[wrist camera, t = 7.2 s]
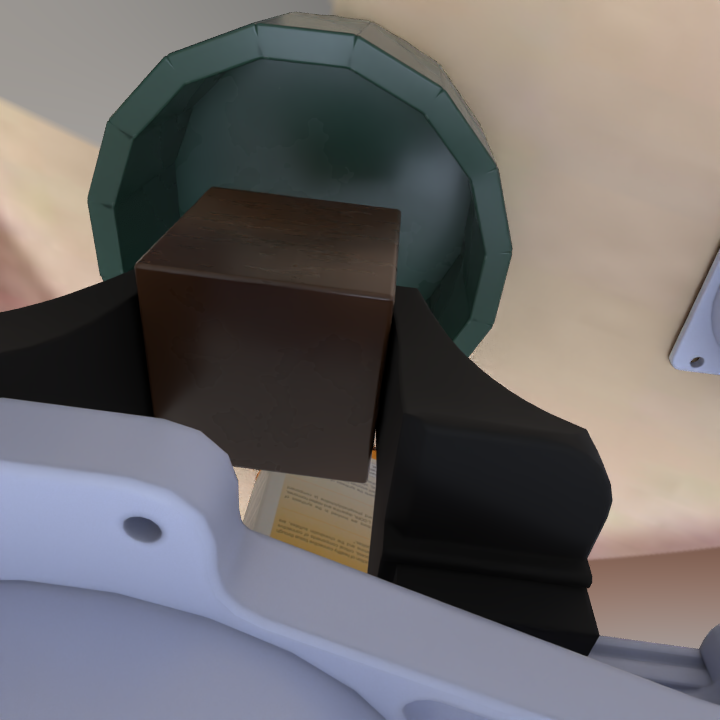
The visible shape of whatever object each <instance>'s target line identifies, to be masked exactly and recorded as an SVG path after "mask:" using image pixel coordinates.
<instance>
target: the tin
mask: <svg viewBox="0 0 720 720" xmlns="http://www.w3.org/2000/svg"><path fill="white" fill-rule="evenodd" d="M213 186H215V187H223V188H231V189H239V190H247V191H255V192H263V193H271V194H279V195H287V196H295V197H303V198H311V199H319V200H328V201H336V202H344V203H352V204H360V205H368V206H376V207H384V208H392V209H398V210H400V211H401V223H400V237H399V251H398V264H397V278H396V286H404V287H412V288H417V289H418V290H419V292H420V293H421V295H422V296H423V298H424V300H425V302H426V304H427V305H428V307H429V309H430V310H431V312H432V313H433V315H434V317H435V318H436V320H437V321H438V322H439V324H440V325H441V327H442V328H443V329H444V331H445V332H446V334H447V335H448V336H449V337H450V339H451V340H452V341H453V342H454V343H455V344H456V345H457V347H458V348H459V349H460V350H461V351H462V352H463V353H464V354H465V355H466V356H467V357H469V356H470V355H471V353H472V352H473V351H474V349H475V348H476V347H477V346H478V344H479V343H480V342H481V341H482V339H483V338H484V337H485V336H486V334H487V333H488V332H489V330H490V329H491V328H492V326H493V324H494V322H495V318H496V314H497V310H498V307H499V303H500V299H501V295H502V291H503V287H504V283H505V280H506V276H507V272H508V268H509V264H510V260H511V256H512V249H513V248H512V243H511V237H510V231H509V226H508V220H507V214H506V208H505V203H504V197H503V191H502V186H501V180H500V174H499V169H498V167H497V164H496V162H495V159H494V157H493V154H492V152H491V150H490V147H489V145H488V142H487V140H486V137H485V135H484V133H483V130H482V128H481V125H480V124H479V122H478V121H477V119H476V118H475V116H474V115H473V113H472V112H471V110H470V109H469V107H468V106H467V104H466V103H465V101H464V100H463V98H462V96H461V94H460V93H459V92H458V90H457V89H456V88H455V86H454V85H453V83H452V82H451V80H450V79H449V77H448V76H447V74H446V73H445V71H444V70H443V68H442V67H441V65H439V64H438V63H437V61H435V60H433V59H432V58H430V57H429V56H427V55H425V54H424V53H422V52H421V51H419V50H418V49H416V48H415V47H413V46H412V45H411V44H409V43H408V42H407V41H405V40H403V39H401V38H399V37H397V36H396V35H394V34H392V33H390V32H388V31H387V30H385V29H384V28H382V27H380V26H379V25H377V24H376V23H374V22H370V21H369V20H361V19H352V18H344V17H339V16H334V15H317V14H309V13H300V12H294V13H287V14H283V15H280V16H276V17H273V18H269V19H265V20H262V21H258V22H254V23H251V24H249V25H246V26H243V27H240V28H238V29H235V30H232V31H230V32H227V33H224V34H221V35H218V36H216V37H213V38H210V39H208V40H205V41H202V42H199V43H197V44H194V45H191V46H189V47H186V48H183V49H180V50H178V51H175V52H172V53H170V54H168V55H167V56H165V57H164V58H163V59H162V60H161V61H160V62H159V63H158V64H157V65H156V67H155V68H154V69H153V70H152V71H151V72H150V73H149V74H148V76H147V77H146V78H145V79H144V80H143V81H142V82H141V84H140V85H139V86H138V87H137V88H136V89H135V90H134V91H133V92H132V93H131V95H130V96H129V97H128V98H127V99H126V100H125V102H123V104H122V105H121V106H120V107H119V108H118V109H117V111H115V113H114V114H113V115H112V116H111V117H110V119H109V121H107V124H106V128H105V132H104V136H103V140H102V144H101V148H100V151H99V155H98V159H97V163H96V167H95V171H94V175H93V179H92V182H91V186H90V190H89V194H88V201H87V202H88V208H89V213H90V219H91V225H92V231H93V237H94V243H95V249H96V254H97V260H98V266H99V272H100V276H102V279H103V281H106V280H108V279H111V278H113V277H116V276H118V275H121V274H123V273H126V272H128V271H131V270H133V269H134V267H135V264H136V262H137V261H138V260H139V259H140V258H141V257H142V256H143V255H144V254H145V253H146V252H147V251H148V250H149V249H150V248H151V247H152V246H153V245H154V244H155V243H156V242H157V241H158V240H159V239H160V238H161V237H162V236H163V235H164V234H165V233H166V232H167V231H168V230H169V229H170V228H171V227H172V226H173V225H174V224H175V223H176V222H177V221H178V220H179V219H180V218H181V217H182V216H183V215H184V214H185V213H186V212H187V211H188V210H189V209H190V208H191V207H192V206H193V205H194V204H195V203H196V202H197V201H198V200H199V199H200V198H201V196H202V195H203V194H204V193H205V192H206V191H207V190H208V189H209V188H210V187H213Z"/></svg>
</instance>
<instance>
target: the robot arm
mask: <svg viewBox="0 0 720 720" xmlns="http://www.w3.org/2000/svg"><path fill="white" fill-rule="evenodd" d="M696 357H700V358H699V359H698V360H697V361H695V362H691V360H692V359H694V358H696ZM669 360H670V363H671V364H672V366H673V367H674V368H675V369H678V370H683V371H691V372H699V373H707V374H715V375H720V249H719V252H718V254H717V256H716V258H715V260H714V262H713V264H712V266H711V268H710V271H709V273H708V275H707V277H706V279H705V281H704V283H703V285H702V288H701V290H700V292H699V294H698V296H697V298H696V300H695V302H694V305H693V307H692V309H691V311H690V313H689V315H688V317H687V319H686V322H685V324H684V326H683V328H682V330H681V332H680V334H679V336H678V339H677V341H676V343H675V345H674V347H673V349H672V351H671V353H670V356H669ZM611 504H612V492H611V484H610V481H609V478H608V476H607V473H606V470H605V468H604V465H603V463H602V460H601V458H600V455H599V453H598V451H597V449H596V447H595V445H594V443H593V441H592V439H591V438H590V436H589V433H588V431H587V430H586V429H584V428H582V427H579V426H577V425H575V424H573V423H570V422H568V421H566V420H563V419H561V418H559V417H557V416H554V415H552V414H550V413H548V412H546V411H544V410H542V409H540V408H538V407H536V406H534V405H533V404H531V403H529V402H527V401H525V400H524V399H522V398H520V397H519V396H517V395H516V394H514V393H512V392H511V391H509V390H508V389H506V388H505V387H504V386H502V385H501V384H499V383H498V382H497V381H495V380H494V379H492V378H491V377H490V376H489V375H487V374H486V373H485V372H483V371H482V370H481V369H480V368H479V367H478V366H477V365H476V364H475V363H473V362H472V361H471V360H470V359H469V358H468V357H467V356H466V355H465V354H464V353H463V352H462V351H461V350H460V349H459V348H458V347H457V345H456V344H455V343H454V342H453V341H452V340H451V339H450V337H449V336H448V335H447V334H446V332H445V331H444V329H443V328H442V327H441V325H440V324H439V322H438V321H437V320H436V318H435V317H434V315H433V313H432V312H431V310H430V309H429V307H428V305H427V304H426V302H425V300H424V298H423V296H422V295H421V293H420V292H419V290H418V289H417V288H412V287H404V286H396V292H395V303H394V309H393V316H392V323H391V330H390V336H389V343H388V350H387V357H386V363H385V370H384V377H383V384H382V390H381V397H380V404H379V411H378V417H377V424H376V489H375V500H374V510H373V520H372V530H371V540H370V550H369V560H368V570H367V573H364V572H362V571H359V570H356V569H354V568H351V567H349V566H346V565H343V564H341V563H338V562H335V561H333V560H330V559H327V558H325V557H322V556H319V555H317V554H314V553H312V552H309V551H306V550H304V549H301V548H298V547H296V546H293V545H290V544H288V543H285V542H282V541H280V540H277V539H274V538H272V537H269V536H267V535H264V534H261V533H259V532H256V531H253V530H251V529H249V528H248V527H247V526H246V525H244V524H243V522H242V520H241V516H240V511H239V492H238V479H237V477H236V474H235V472H234V469H233V466H232V464H231V461H230V458H229V456H228V454H227V453H226V452H225V451H223V450H222V449H221V448H220V447H219V446H217V445H216V444H215V443H214V442H213V441H212V440H210V439H209V438H208V437H207V436H206V435H205V434H203V433H202V432H201V431H199V430H196V429H193V428H190V427H187V426H184V425H181V424H178V423H175V422H172V421H169V420H166V419H162V418H154V415H153V407H152V400H151V392H150V384H149V377H148V369H147V361H146V354H145V346H144V338H143V331H142V323H141V315H140V308H139V300H138V292H137V285H136V277H135V269H133V270H131V271H128V272H126V273H123V274H121V275H118V276H116V277H113V278H111V279H108V280H106V281H103V282H101V283H98V284H95V285H92V286H90V287H87V288H84V289H81V290H79V291H76V292H73V293H70V294H68V295H65V296H62V297H59V298H55V299H52V300H49V301H45V302H42V303H38V304H34V305H30V306H26V307H23V308H19V309H14V310H10V311H5V312H0V720H720V624H718V625H717V626H715V627H714V628H713V629H711V631H710V632H709V633H708V635H707V636H706V637H705V639H704V640H703V642H702V644H701V646H700V648H699V649H696V648H688V647H681V646H674V645H666V644H659V643H651V642H644V641H637V640H629V639H622V638H615V637H607V636H600V635H599V632H598V628H597V625H596V621H595V617H594V613H593V610H592V606H591V603H590V599H589V595H588V592H587V588H589V587H590V586H591V584H592V574H591V570H590V567H589V564H588V560H587V558H588V556H589V554H590V552H591V550H592V548H593V546H594V544H595V542H596V540H597V538H598V536H599V534H600V532H601V530H602V528H603V525H604V523H605V521H606V519H607V517H608V514H609V511H610V507H611Z"/></svg>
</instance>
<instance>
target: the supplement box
mask: <svg viewBox="0 0 720 720" xmlns="http://www.w3.org/2000/svg"><path fill="white" fill-rule="evenodd" d="M375 489H376V451H374V450H373V451H372V458H371V465H370V471H369V478H368V481H367V482H366V483H364V484H362V483H355V482H347V481H340V480H332V479H324V478H317V477H309V476H302V475H294V474H287V473H279V472H271V471H264V470H260V471H259V473H258V474H257V477H256V481H255V484H254V487H253V490H252V494H251V497H250V500H249V503H248V506H247V510H246V513H245V516H244V520H243V524H244V525H246V526H247V527H248V528H249V529H251V530H253V531H256V532H259V533H261V534H264V535H267V536H269V537H272V538H274V539H277V540H280V541H282V542H285V543H288V544H290V545H293V546H296V547H298V548H301V549H304V550H306V551H309V552H312V553H314V554H317V555H319V556H322V557H325V558H327V559H330V560H333V561H335V562H338V563H341V564H343V565H346V566H349V567H351V568H354V569H356V570H359V571H362V572H364V573H367V570H368V560H369V550H370V540H371V530H372V520H373V510H374V500H375Z"/></svg>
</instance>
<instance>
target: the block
mask: <svg viewBox="0 0 720 720" xmlns="http://www.w3.org/2000/svg"><path fill="white" fill-rule="evenodd" d="M400 223H401V211H400V210H398V209H392V208H384V207H376V206H368V205H360V204H352V203H344V202H336V201H328V200H319V199H311V198H303V197H295V196H287V195H279V194H271V193H263V192H255V191H247V190H239V189H231V188H223V187H215V186H213V187H210V188H209V189H208V190H207V191H206V192H205V193H204V194H203V195H202V196H201V198H200V199H199V200H198V201H197V202H196V203H195V204H194V205H193V206H192V207H191V208H190V209H189V210H188V211H187V212H186V213H185V214H184V215H183V216H182V217H181V218H180V219H179V220H178V221H177V222H176V223H175V224H174V225H173V226H172V227H171V228H170V229H169V230H168V231H167V232H166V233H165V234H164V235H163V236H162V237H161V238H160V239H159V240H158V241H157V242H156V243H155V244H154V245H153V246H152V247H151V248H150V249H149V250H148V251H147V252H146V253H145V254H144V255H143V256H142V257H141V258H140V259H139V260H138V261H137V262H136V264H135V267H134V269H135V277H136V285H137V292H138V300H139V308H140V315H141V323H142V331H143V338H144V346H145V354H146V361H147V369H148V377H149V384H150V392H151V400H152V407H153V415H154V418H162V419H166V420H169V421H172V422H175V423H178V424H181V425H184V426H187V427H190V428H193V429H196V430H199V431H201V432H202V433H203V434H205V435H206V436H207V437H208V438H209V439H210V440H212V441H213V442H214V443H215V444H216V445H217V446H219V447H220V448H221V449H222V450H223V451H225V452H226V453H227V454H228V456H229V458H230V461H231V464H232V466H234V467H241V468H249V469H256V470H264V471H271V472H279V473H287V474H294V475H302V476H309V477H317V478H324V479H332V480H340V481H347V482H355V483H362V484H364V483H366V482H367V481H368V478H369V471H370V465H371V458H372V451H373V444H374V438H375V431H376V424H377V417H378V411H379V404H380V397H381V390H382V384H383V377H384V370H385V363H386V357H387V350H388V343H389V336H390V330H391V323H392V316H393V309H394V303H395V292H396V278H397V264H398V251H399V237H400Z"/></svg>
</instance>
